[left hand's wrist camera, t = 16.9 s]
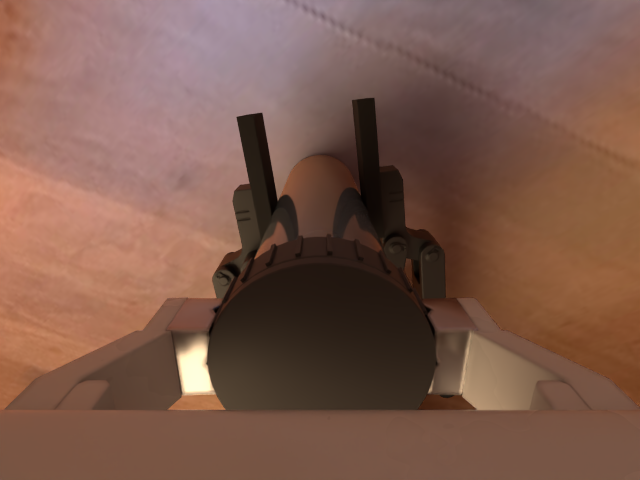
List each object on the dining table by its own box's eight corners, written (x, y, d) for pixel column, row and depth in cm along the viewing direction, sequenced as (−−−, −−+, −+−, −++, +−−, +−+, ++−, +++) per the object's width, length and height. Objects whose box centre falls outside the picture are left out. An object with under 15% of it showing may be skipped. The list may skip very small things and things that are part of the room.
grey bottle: (288, 151, 24) (223, 253, 8) (358, 157, 25) (435, 269, 8) (284, 219, 26) (225, 418, 10) (350, 224, 26) (401, 429, 10)
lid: (194, 363, 10) (171, 409, 9) (270, 196, 9) (259, 217, 7) (361, 428, 11) (367, 481, 10) (459, 286, 9) (486, 322, 8)
